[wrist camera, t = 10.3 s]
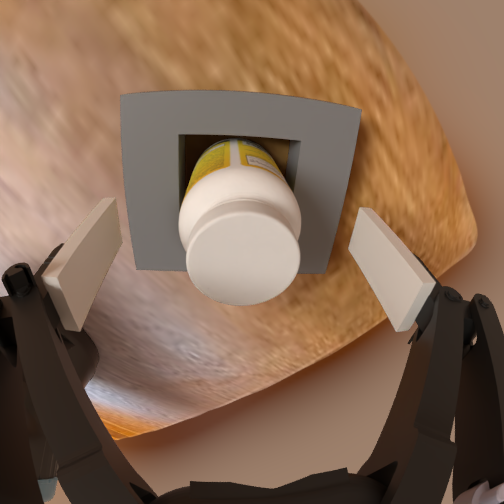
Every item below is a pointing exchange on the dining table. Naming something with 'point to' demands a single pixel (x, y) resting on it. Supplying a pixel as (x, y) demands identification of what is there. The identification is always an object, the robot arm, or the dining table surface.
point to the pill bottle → (239, 225)
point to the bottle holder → (241, 124)
